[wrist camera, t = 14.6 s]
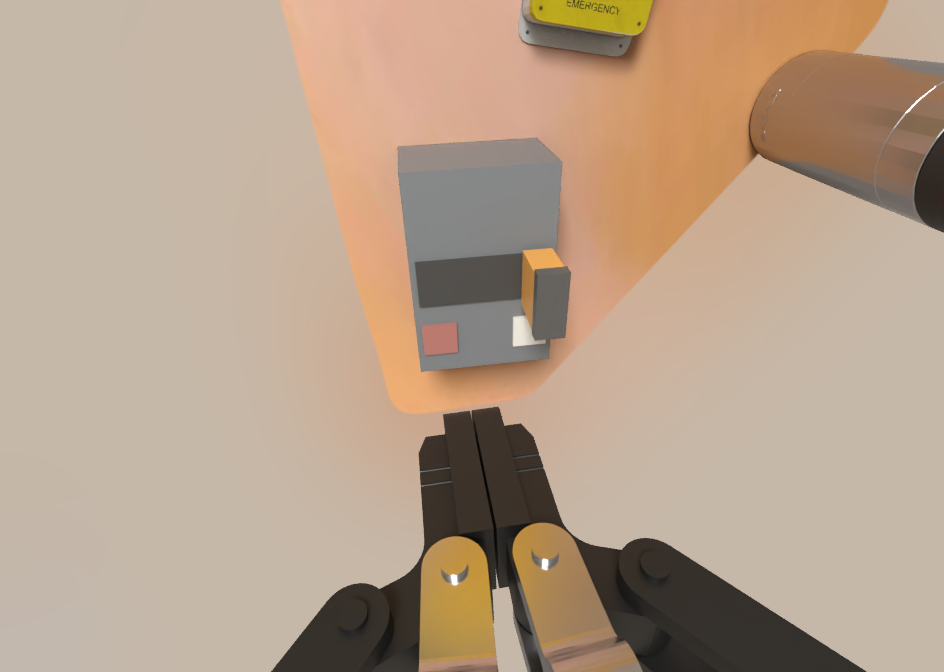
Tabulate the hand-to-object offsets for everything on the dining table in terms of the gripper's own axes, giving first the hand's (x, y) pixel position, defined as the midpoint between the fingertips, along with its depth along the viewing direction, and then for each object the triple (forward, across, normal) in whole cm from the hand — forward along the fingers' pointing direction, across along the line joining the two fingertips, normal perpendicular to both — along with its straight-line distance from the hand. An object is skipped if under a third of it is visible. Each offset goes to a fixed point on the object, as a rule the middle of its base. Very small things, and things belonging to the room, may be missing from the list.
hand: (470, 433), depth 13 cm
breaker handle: (+26, -8, +9) cm, 29 cm away
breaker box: (+34, -4, +9) cm, 36 cm away
